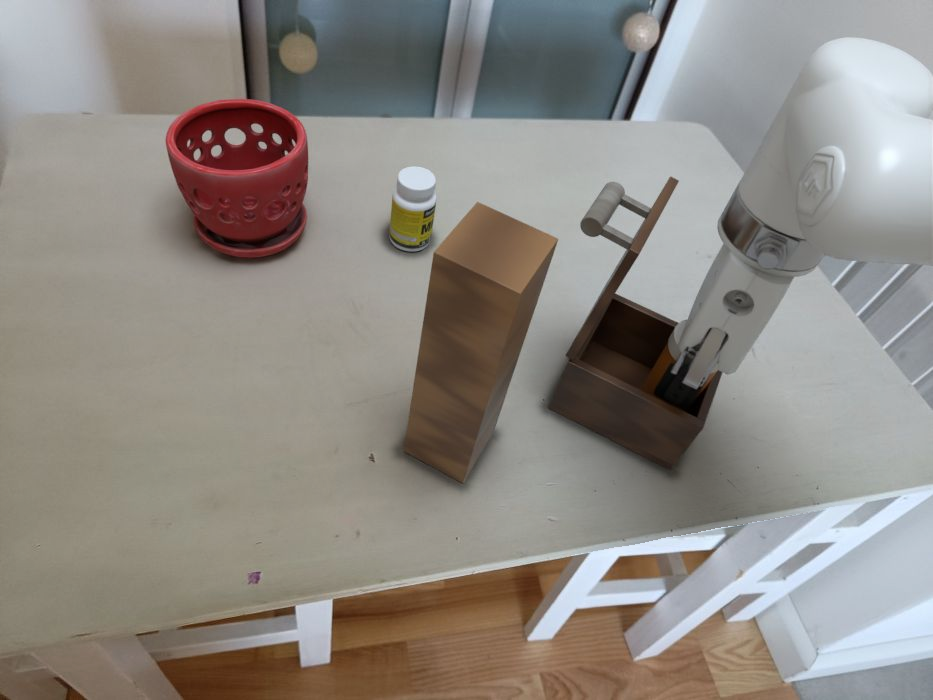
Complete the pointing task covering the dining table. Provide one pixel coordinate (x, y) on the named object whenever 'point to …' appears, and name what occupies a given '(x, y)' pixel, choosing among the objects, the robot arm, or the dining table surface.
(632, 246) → the lid
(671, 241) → the dining table surface
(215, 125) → the flower pot
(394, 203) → the supplement bottle
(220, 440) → the dining table surface
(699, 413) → the chest
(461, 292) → the stand
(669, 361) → the pill bottle
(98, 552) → the dining table surface
